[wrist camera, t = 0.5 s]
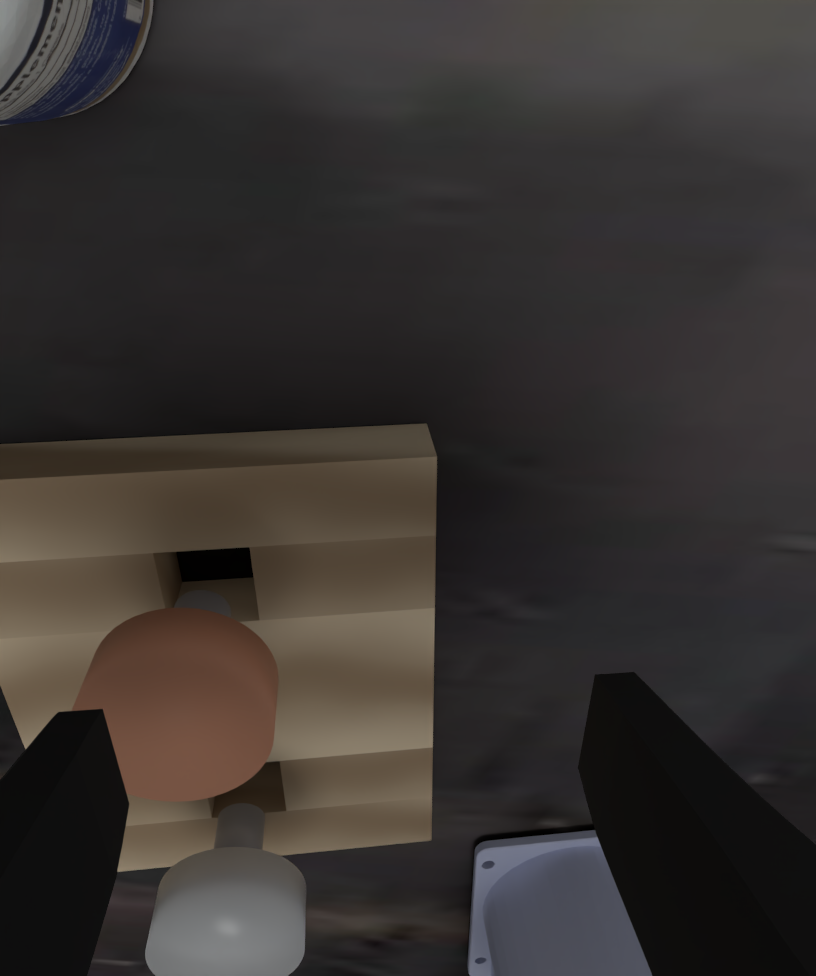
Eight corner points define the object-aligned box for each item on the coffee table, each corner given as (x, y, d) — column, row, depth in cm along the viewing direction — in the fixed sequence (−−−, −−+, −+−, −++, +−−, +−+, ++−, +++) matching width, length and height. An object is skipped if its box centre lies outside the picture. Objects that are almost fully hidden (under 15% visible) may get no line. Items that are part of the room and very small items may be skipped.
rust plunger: (290, 666, 19) (283, 792, 15) (135, 678, 18) (93, 809, 15) (275, 540, 17) (263, 653, 13) (102, 551, 16) (44, 670, 13)
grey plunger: (312, 852, 23) (310, 985, 19) (185, 864, 22) (160, 1002, 19) (302, 767, 21) (298, 900, 17) (162, 780, 20) (131, 917, 17)
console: (424, 791, 26) (431, 840, 25) (92, 822, 25) (75, 875, 24) (426, 423, 19) (436, 456, 17) (-41, 446, 18) (-80, 484, 16)
